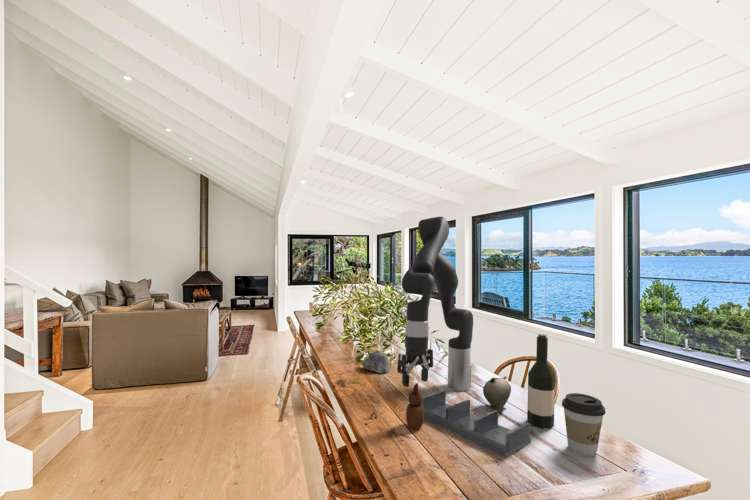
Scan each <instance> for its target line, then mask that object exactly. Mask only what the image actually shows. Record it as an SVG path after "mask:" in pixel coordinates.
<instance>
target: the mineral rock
mask: <svg viewBox="0 0 750 500" xmlns="http://www.w3.org/2000/svg"><path fill="white" fill-rule="evenodd" d="M390 364H391V363H390V361H389V357H388V356H387V354H386V353H384V352H382V351H381V350H379V349H377V350H375V351H372V352H370V353H369V354H368V356H366V357H365V358H364V359H363V362H361V366H362V368H364V369H366V370H369V371H372V372H375V373H378V374H381V375H382V374H383V375H384V374H388V373H389V372H390V370H391V365H390Z"/></svg>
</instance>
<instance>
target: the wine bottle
mask: <svg viewBox="0 0 750 500" xmlns="http://www.w3.org/2000/svg"><path fill="white" fill-rule="evenodd" d="M548 342H549V338H548V337H547V335H546V334H544V333H539V334H538V336H537V337H536V357H535V359H536V361H535V363H534V364H533V366H532V367H531V368H530V370H529V371H528V372H527V373H528V375H527V376H528V377H527V407H526V409H527V411H526V412H527V414H526V415H527V418H526V421H527V422H529V423H530V427H531V426H532V427H535V428H537V429H541V430H552V429H553V427H554V426H555V403H556V401H555V396H556V395H555V394H556V386H555V385H556V375H555V373H554V371H553V370H552V367H550V365H549V363H548V349H549V348H548V345H549V343H548ZM527 422H526V423H527Z"/></svg>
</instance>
